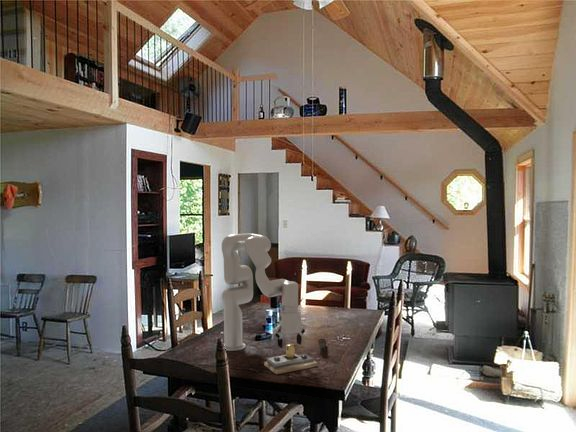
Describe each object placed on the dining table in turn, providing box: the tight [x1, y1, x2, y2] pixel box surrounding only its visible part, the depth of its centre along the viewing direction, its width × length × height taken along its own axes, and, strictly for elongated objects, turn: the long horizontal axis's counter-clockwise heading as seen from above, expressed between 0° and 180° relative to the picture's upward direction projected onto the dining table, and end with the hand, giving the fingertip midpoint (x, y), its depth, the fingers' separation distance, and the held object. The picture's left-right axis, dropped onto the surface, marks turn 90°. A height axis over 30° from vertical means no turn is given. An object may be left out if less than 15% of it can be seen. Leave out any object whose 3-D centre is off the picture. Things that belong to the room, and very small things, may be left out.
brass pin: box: [285, 343, 296, 360], centre depth 196 cm, size 4×4×8 cm
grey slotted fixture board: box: [266, 353, 315, 369], centre depth 196 cm, size 8×20×3 cm, turn 117°
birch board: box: [263, 360, 318, 375], centre depth 197 cm, size 13×21×2 cm, turn 117°
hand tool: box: [317, 338, 327, 358], centre depth 217 cm, size 19×4×5 cm, turn 174°
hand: (289, 345), depth 197 cm, fingers open, 9 cm apart
